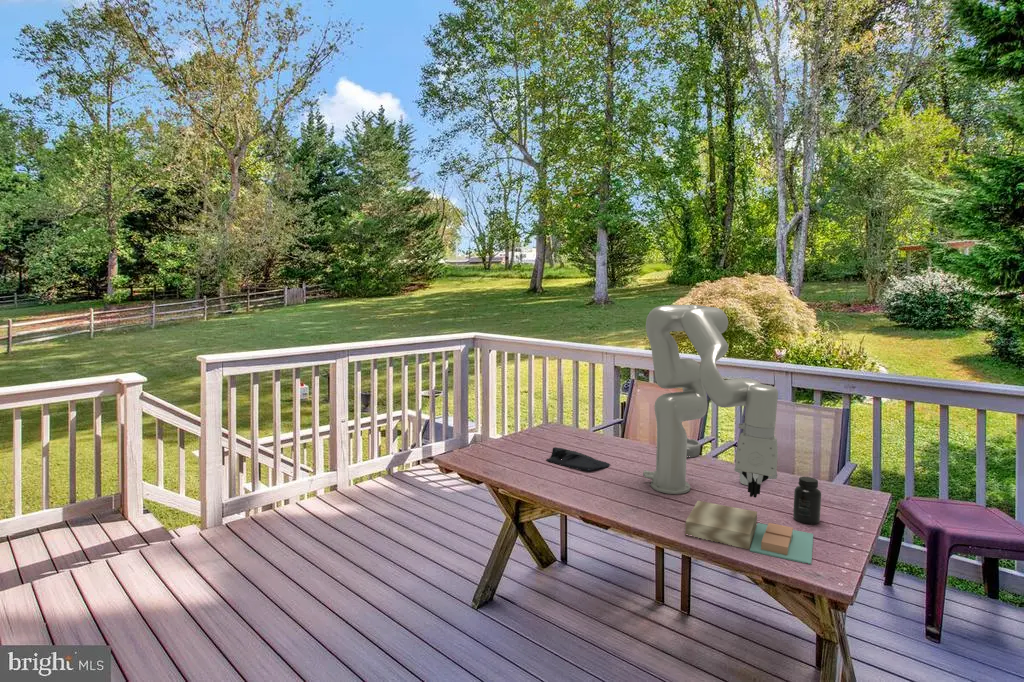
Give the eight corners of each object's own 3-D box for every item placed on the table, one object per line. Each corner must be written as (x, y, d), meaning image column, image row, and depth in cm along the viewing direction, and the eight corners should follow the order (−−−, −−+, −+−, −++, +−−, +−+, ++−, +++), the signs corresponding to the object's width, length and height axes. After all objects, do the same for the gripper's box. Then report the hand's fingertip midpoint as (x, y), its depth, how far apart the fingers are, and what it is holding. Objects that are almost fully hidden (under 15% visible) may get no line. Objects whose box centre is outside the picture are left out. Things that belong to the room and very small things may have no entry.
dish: (691, 461, 213) (692, 448, 212) (657, 453, 221) (658, 441, 221) (706, 452, 223) (707, 439, 223) (673, 445, 232) (674, 433, 232)
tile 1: (790, 536, 145) (790, 543, 145) (793, 527, 150) (792, 534, 150) (765, 531, 148) (765, 538, 148) (768, 522, 153) (768, 529, 153)
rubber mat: (749, 551, 142) (749, 549, 142) (757, 524, 158) (757, 522, 158) (811, 564, 135) (811, 563, 135) (813, 535, 151) (813, 533, 151)
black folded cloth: (586, 476, 197) (586, 463, 196) (542, 461, 213) (542, 449, 213) (614, 467, 207) (614, 454, 206) (570, 453, 223) (570, 441, 223)
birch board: (685, 535, 151) (685, 521, 150) (697, 513, 165) (697, 500, 164) (749, 549, 143) (750, 534, 143) (756, 525, 157) (757, 511, 157)
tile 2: (787, 547, 139) (787, 555, 139) (790, 537, 144) (789, 545, 144) (761, 541, 142) (761, 549, 142) (764, 532, 147) (764, 539, 148)
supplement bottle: (825, 523, 158) (828, 482, 157) (805, 526, 156) (808, 484, 155) (806, 513, 165) (808, 474, 164) (787, 516, 163) (789, 476, 162)
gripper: (727, 429, 151) (722, 494, 154) (789, 439, 144) (782, 507, 147) (731, 422, 157) (726, 485, 160) (790, 431, 150) (784, 496, 153)
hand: (753, 495), depth 153 cm, fingers closed
